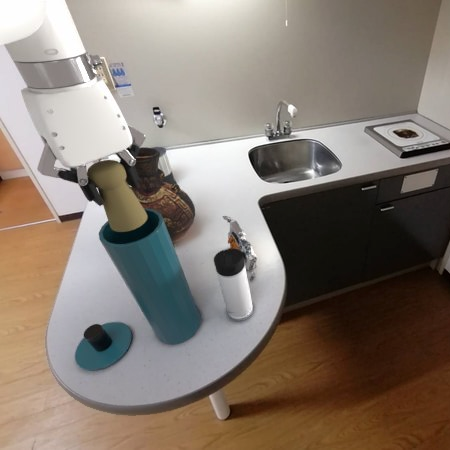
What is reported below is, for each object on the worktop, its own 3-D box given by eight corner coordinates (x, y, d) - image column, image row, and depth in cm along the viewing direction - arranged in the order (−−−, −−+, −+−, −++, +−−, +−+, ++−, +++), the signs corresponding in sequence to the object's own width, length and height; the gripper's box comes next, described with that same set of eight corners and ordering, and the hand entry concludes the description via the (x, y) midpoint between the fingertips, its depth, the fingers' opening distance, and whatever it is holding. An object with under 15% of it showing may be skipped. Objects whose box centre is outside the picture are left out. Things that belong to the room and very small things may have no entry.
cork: (154, 217, 54) (132, 161, 47) (123, 236, 50) (94, 178, 43) (133, 206, 56) (109, 151, 49) (102, 224, 53) (71, 167, 46)
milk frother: (164, 178, 126) (153, 144, 117) (194, 186, 121) (185, 152, 112) (137, 196, 117) (122, 161, 107) (169, 206, 111) (156, 170, 102)
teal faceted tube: (172, 353, 69) (117, 255, 48) (147, 327, 74) (88, 228, 53) (209, 321, 75) (174, 223, 54) (184, 299, 80) (143, 201, 60)
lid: (91, 383, 64) (75, 368, 60) (69, 350, 69) (53, 334, 65) (142, 343, 71) (131, 327, 66) (118, 316, 76) (106, 300, 72)
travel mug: (229, 325, 74) (213, 270, 61) (227, 303, 79) (212, 247, 66) (254, 319, 75) (244, 264, 62) (251, 298, 80) (241, 242, 67)
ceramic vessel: (125, 261, 91) (76, 172, 71) (140, 223, 104) (102, 140, 84) (198, 253, 93) (170, 165, 73) (203, 217, 106) (180, 135, 87)
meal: (224, 251, 93) (216, 218, 85) (237, 246, 95) (230, 213, 87) (246, 283, 84) (240, 249, 75) (260, 276, 86) (255, 242, 77)
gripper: (112, 56, 45) (152, 166, 57) (-37, 82, 35) (49, 210, 46) (139, 63, 41) (175, 179, 53) (-19, 95, 31) (69, 230, 43)
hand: (116, 192), depth 49 cm, fingers closed on cork, 5 cm apart
